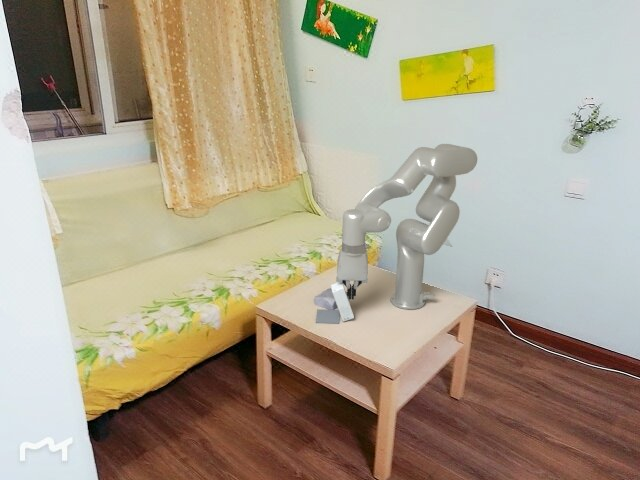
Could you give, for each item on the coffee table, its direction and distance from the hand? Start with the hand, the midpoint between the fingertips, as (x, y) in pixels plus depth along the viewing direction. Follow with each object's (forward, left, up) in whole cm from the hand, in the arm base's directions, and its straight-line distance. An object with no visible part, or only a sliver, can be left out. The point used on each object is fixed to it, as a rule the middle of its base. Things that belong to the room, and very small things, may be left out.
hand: (351, 297), depth 158 cm
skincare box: (+1, 0, -7) cm, 7 cm away
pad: (+8, 0, -8) cm, 11 cm away
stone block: (+7, -12, -8) cm, 16 cm away
